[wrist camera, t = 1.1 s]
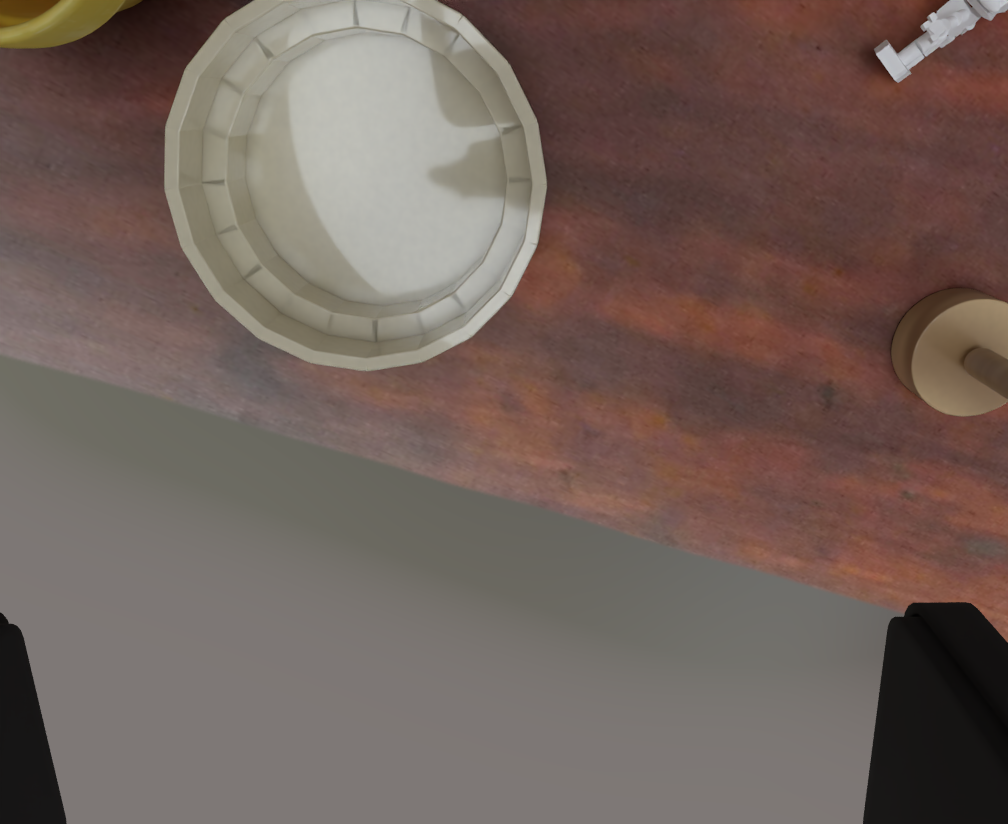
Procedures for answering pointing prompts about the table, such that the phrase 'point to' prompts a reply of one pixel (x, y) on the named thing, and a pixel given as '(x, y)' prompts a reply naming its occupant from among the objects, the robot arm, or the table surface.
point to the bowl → (355, 177)
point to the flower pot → (53, 20)
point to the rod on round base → (955, 351)
